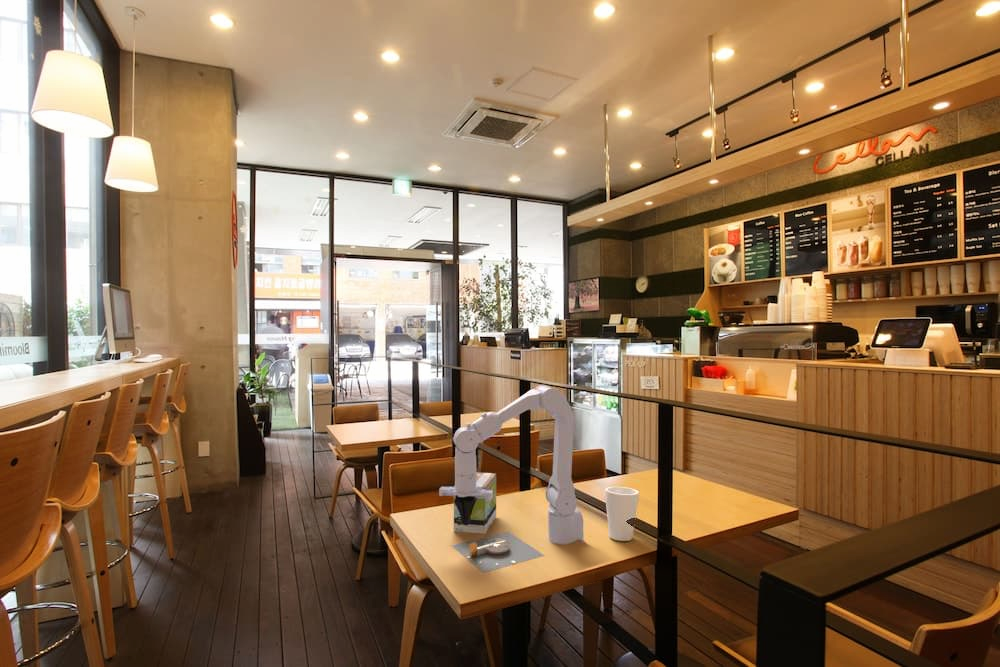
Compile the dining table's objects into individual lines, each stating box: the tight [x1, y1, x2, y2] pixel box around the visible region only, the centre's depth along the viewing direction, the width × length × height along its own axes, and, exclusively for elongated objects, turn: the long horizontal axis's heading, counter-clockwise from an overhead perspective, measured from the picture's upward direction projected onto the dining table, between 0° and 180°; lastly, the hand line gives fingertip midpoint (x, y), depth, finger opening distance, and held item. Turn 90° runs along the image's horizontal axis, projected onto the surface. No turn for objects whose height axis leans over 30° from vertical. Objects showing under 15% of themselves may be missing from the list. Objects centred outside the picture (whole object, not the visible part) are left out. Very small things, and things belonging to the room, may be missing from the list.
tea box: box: [453, 471, 497, 535], centre depth 156 cm, size 15×10×15 cm, turn 168°
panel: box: [451, 531, 545, 574], centre depth 137 cm, size 18×18×1 cm
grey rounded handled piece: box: [470, 538, 510, 557], centre depth 135 cm, size 12×7×3 cm, turn 120°
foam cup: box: [604, 486, 640, 542], centre depth 147 cm, size 10×9×13 cm
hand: (466, 523), depth 137 cm, fingers closed
